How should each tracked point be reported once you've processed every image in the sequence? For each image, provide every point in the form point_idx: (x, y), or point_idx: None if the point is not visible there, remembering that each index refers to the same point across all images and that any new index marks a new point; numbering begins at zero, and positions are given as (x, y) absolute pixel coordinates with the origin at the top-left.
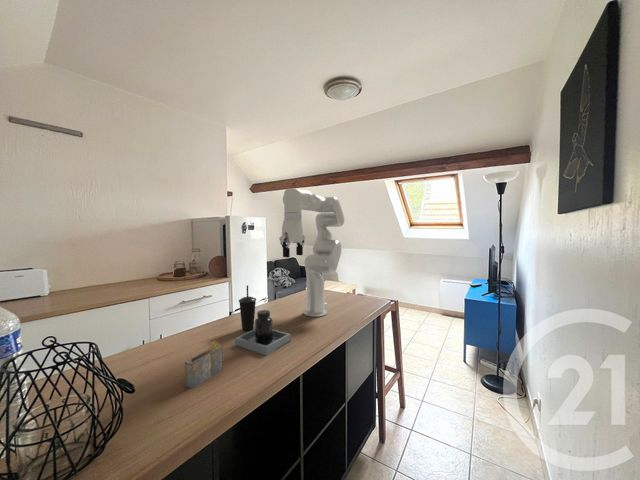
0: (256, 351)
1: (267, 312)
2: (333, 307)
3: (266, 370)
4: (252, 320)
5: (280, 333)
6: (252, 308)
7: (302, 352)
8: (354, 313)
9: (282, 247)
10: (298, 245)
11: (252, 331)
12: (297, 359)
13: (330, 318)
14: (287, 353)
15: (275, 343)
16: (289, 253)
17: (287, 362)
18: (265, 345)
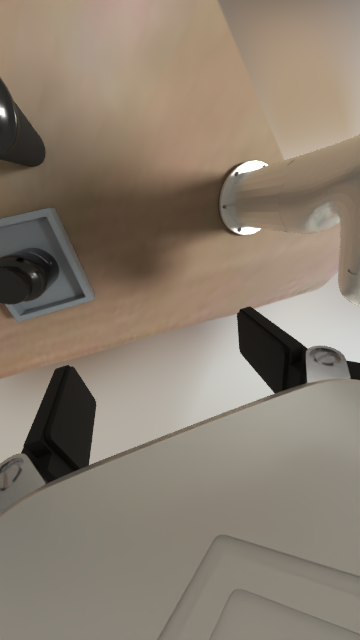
0: None
1: (16, 300)
2: None
3: (7, 351)
4: (25, 163)
5: (78, 280)
6: (4, 159)
7: (89, 339)
8: (286, 272)
9: (4, 468)
10: (298, 379)
11: (12, 223)
12: (69, 351)
13: (236, 258)
14: (64, 328)
15: (45, 313)
16: (90, 429)
17: (50, 350)
18: None
